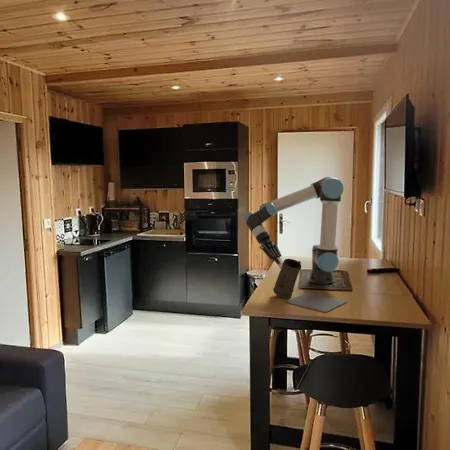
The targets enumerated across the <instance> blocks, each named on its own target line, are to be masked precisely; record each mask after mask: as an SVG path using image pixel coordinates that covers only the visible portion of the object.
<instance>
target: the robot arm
mask: <svg viewBox="0 0 450 450" xmlns="http://www.w3.org/2000/svg"><path fill="white" fill-rule="evenodd" d="M344 188H345V187H344V184H343V182H342V180H340V179H339V178H338V177H335V176H326V177H323V178H321V179H319V180H318V181H314V182H313V183H310V185H309V186H307V187H304V188H302V189H300V190H296V191H294V192H292V193H289V194H286V195H285V196H281V197H279V198H276V199H274V200H271V201H268V202H266V203H263V204H260V206H259V208H258V210H257V211H256V212H254V211H251V210H250V211H249V212H246V213H245V214H244V216H243V217H242V220H243V221H244V223H245V225H246V227H247V228H248V229H249V230H250V233H252V235H253V237H254V238H255V239H256V241H257V243H258V244H259V248H260V249H261V250H262V251H263V253H265V255H266V256H267V257H268V258H269V259H270V260H272V261H273V262H275V263H276V265H277V266H278V268H279V269H280V270H281V268H282V265H283V262H284V260H282V258H281V257H282V253H281V251H280V250H279V246H278V243H277V242H276V241H275V242H273V240H271V235H270V234H269V233H268V231H267V230H266V228H265V227H264V225H263V223H264V222H266V221H267V220H269V219H270V218H272V217H274V216H275V215H276V214H277V213H278V212H281V211H284V210H286V209H289V208H292V207H294V206H297V205H300V204H302V203H305V202H308V201H310V200H313V199H316V200H318V199H319V201H320V202H321V203H322V208H321V219H320V220H321V221H320V222H321V223H320V224H321V225H320V236H319V237H320V239H319V244H315V245H313V246H312V249H311V252H312V253H311V256H312V257H311V259H312V260H311V263H312V264H311V271H310V274H309V277H308V282H309V283H311V282H312V284H314V283H316V284H315V285H330V284H329V283H332V284H334V283H333V282H335V277H334V274H333V272H334V270H336V269H337V268H338V265H339V263H340V262H339V261H340V260H339V257H338V247H337V246H336V237H337V223H338V219H337V218H338V206H339V204H340V203H341V199H342V195H343V192H344Z"/></svg>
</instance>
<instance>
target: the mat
mask: <svg viewBox="0 0 450 450" xmlns="http://www.w3.org/2000/svg"><path fill="white" fill-rule="evenodd" d="M347 303H348V301H347V300H343V299H341V298H340V299H339V298H334V297H330V296H325V295H321V294H316V293H313V292H309V291H308V292H306V293H304V294H301V295H299V296H296V297H294V298H291V299H289V300H286V301H285V304H289V305H293V306H297V307H301V308H305V309H310V310H311V311H317V312H320V313H325V314H327V313H328V312H331V311H333V310H335V309H337V308H339V307H341V306H343V305H345V304H347Z"/></svg>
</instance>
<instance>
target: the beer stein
mask: <svg viewBox="0 0 450 450" xmlns="http://www.w3.org/2000/svg"><path fill="white" fill-rule="evenodd" d="M301 263H302V261H300V260H296V259H293V258H286V259H284V260H283V265H282V268H281V269H280V270H279V273H278V276H277V277H276V281H275V284H274V286H273V289H272V290H273V293H274V294H275V296H278V297H279V298H283V299H290V298H292V297H293V292H294V288H295V285H296V282H297V278H298V276H299V274H300V271H301V270H302V264H301Z"/></svg>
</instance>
